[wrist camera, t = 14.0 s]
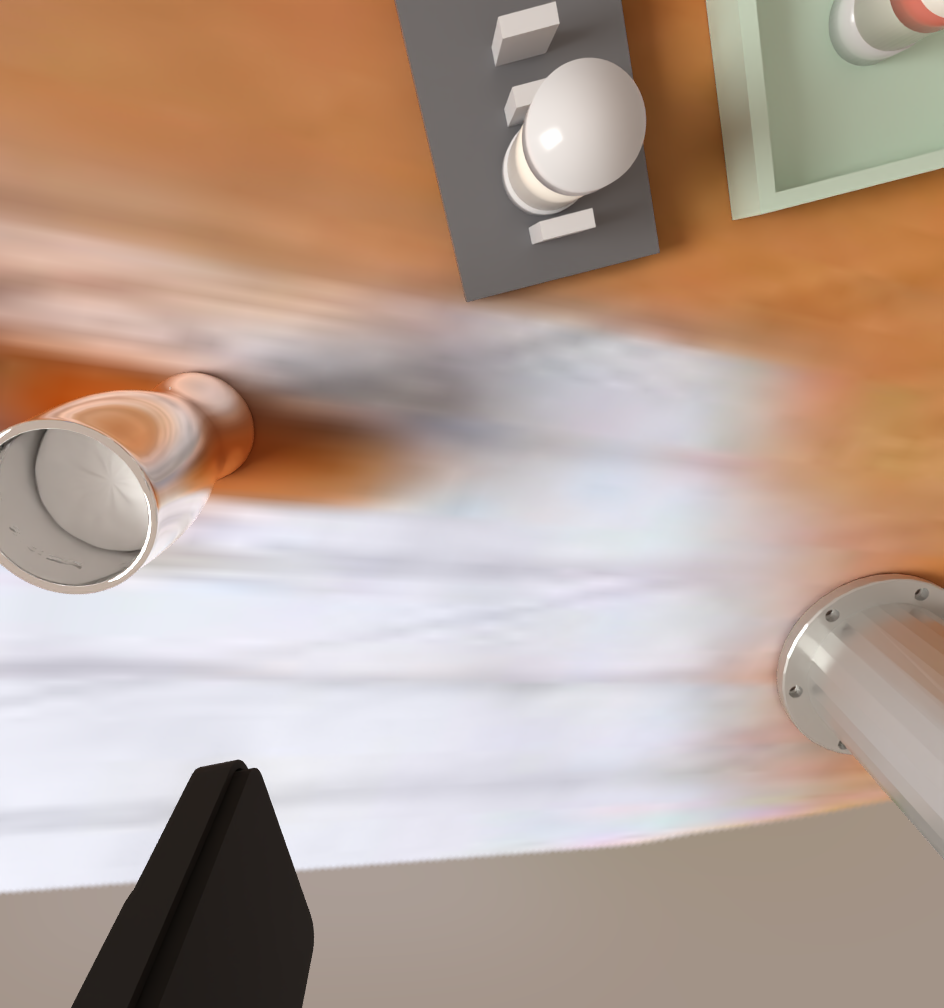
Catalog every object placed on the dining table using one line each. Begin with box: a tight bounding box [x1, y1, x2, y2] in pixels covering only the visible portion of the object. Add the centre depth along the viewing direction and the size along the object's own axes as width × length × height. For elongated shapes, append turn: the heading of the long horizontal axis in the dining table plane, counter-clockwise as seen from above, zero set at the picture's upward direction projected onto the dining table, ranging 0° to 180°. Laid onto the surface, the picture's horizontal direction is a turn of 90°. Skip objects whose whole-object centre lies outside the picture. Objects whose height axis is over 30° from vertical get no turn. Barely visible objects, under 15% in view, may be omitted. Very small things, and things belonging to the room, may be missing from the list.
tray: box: [706, 0, 944, 220], centre depth 33 cm, size 15×15×4 cm
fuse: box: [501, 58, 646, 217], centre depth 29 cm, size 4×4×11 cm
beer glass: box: [0, 372, 254, 594], centre depth 32 cm, size 7×7×15 cm
